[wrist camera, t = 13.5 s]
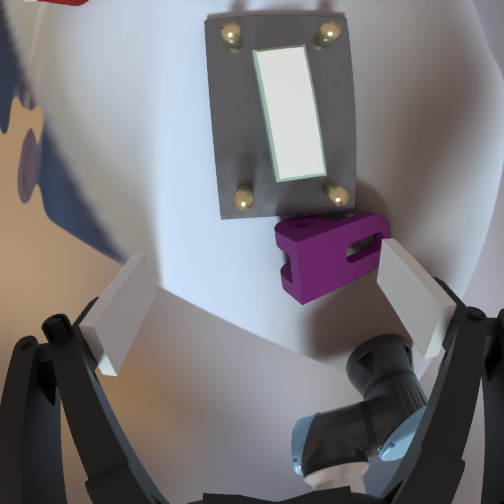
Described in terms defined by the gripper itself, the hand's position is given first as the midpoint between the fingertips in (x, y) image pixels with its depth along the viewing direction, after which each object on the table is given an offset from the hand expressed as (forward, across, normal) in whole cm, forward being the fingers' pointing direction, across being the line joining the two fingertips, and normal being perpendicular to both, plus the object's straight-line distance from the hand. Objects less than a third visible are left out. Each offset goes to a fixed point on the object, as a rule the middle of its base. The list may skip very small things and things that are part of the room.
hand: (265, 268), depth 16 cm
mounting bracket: (+29, -11, +11) cm, 33 cm away
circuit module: (+27, -4, -9) cm, 29 cm away
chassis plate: (+29, -4, -9) cm, 30 cm away
